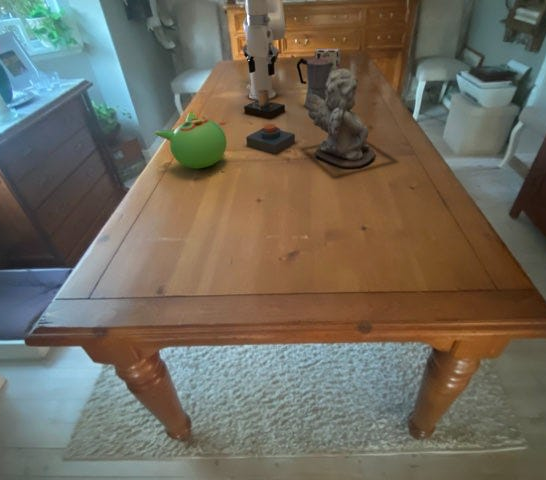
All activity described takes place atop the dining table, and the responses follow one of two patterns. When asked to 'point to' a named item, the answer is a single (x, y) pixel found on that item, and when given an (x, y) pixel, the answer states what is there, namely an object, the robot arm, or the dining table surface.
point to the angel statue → (340, 123)
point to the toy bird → (196, 142)
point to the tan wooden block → (263, 98)
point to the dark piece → (270, 140)
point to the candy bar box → (330, 57)
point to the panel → (264, 110)
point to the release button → (269, 128)
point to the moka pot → (315, 75)
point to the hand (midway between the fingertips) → (261, 73)
